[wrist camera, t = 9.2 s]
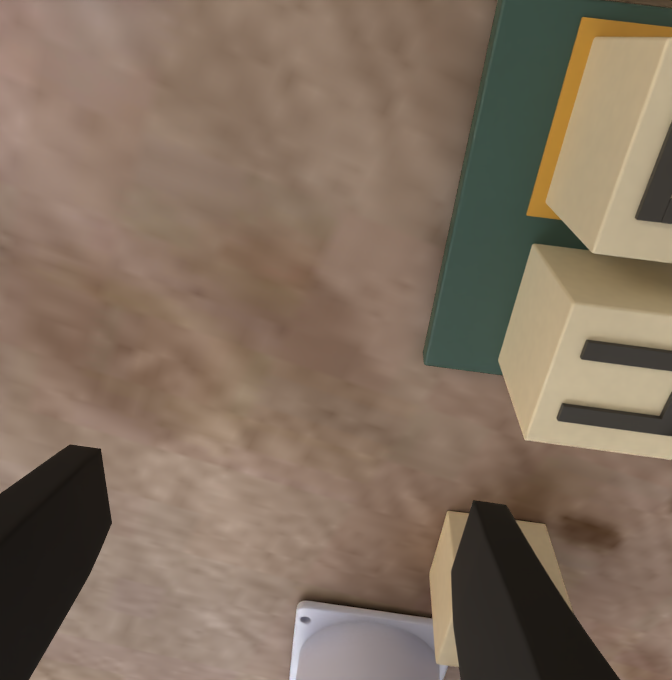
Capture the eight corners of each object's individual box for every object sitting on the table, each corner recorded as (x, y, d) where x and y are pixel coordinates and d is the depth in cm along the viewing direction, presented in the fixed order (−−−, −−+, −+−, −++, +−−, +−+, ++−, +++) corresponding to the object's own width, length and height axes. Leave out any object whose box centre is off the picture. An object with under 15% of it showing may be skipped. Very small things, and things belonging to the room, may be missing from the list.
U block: (621, 376, 18) (682, 466, 14) (497, 360, 18) (524, 444, 15) (672, 260, 16) (759, 328, 12) (531, 242, 16) (574, 305, 12)
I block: (519, 586, 25) (542, 684, 21) (428, 573, 25) (435, 668, 21) (546, 522, 23) (576, 619, 19) (447, 509, 23) (458, 602, 19)
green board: (675, 387, 19) (687, 402, 18) (422, 354, 19) (423, 367, 19) (853, 31, 14) (882, 31, 13) (499, -9, 14) (505, -12, 13)
